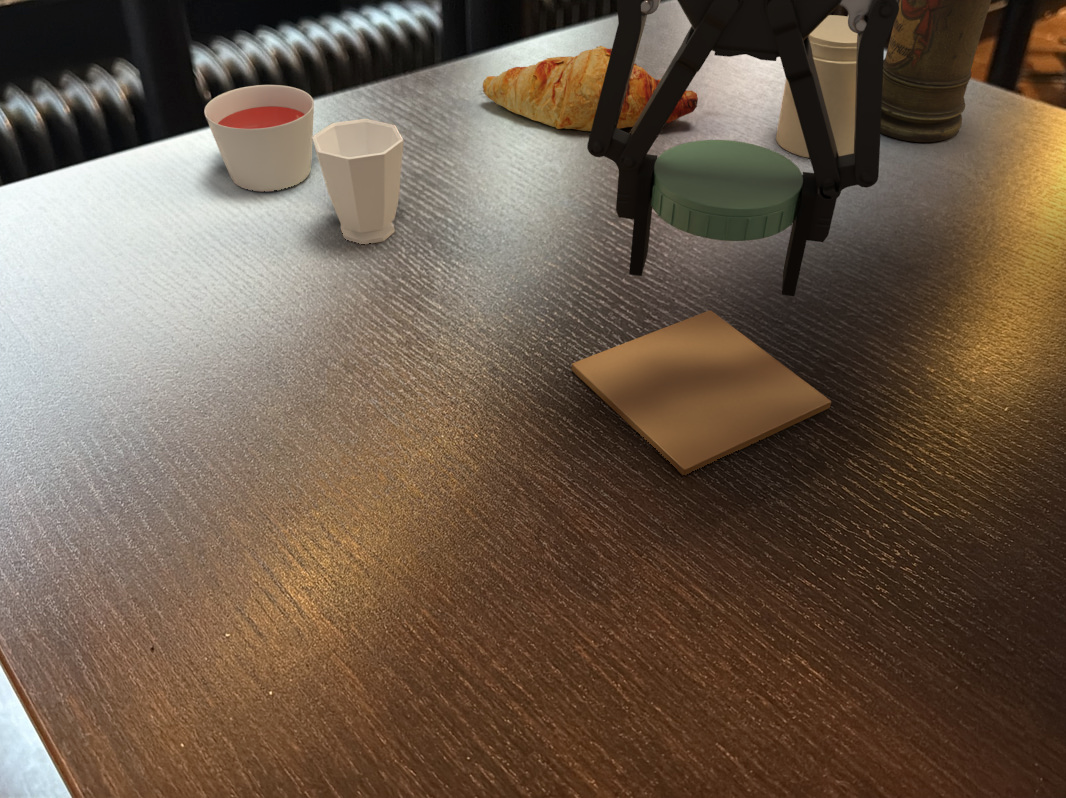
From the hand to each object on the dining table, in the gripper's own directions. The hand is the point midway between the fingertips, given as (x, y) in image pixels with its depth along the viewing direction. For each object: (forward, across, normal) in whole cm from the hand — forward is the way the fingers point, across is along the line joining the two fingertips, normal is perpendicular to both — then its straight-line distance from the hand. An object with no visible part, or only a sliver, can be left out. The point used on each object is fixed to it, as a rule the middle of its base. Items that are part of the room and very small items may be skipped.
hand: (712, 273), depth 60 cm
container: (+9, -16, -46) cm, 50 cm away
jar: (+9, -7, -40) cm, 41 cm away
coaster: (+9, 0, 0) cm, 9 cm away
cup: (+9, +28, -16) cm, 33 cm away
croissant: (+9, +15, -40) cm, 44 cm away
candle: (+9, +39, -21) cm, 46 cm away
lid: (-6, 0, 0) cm, 6 cm away
